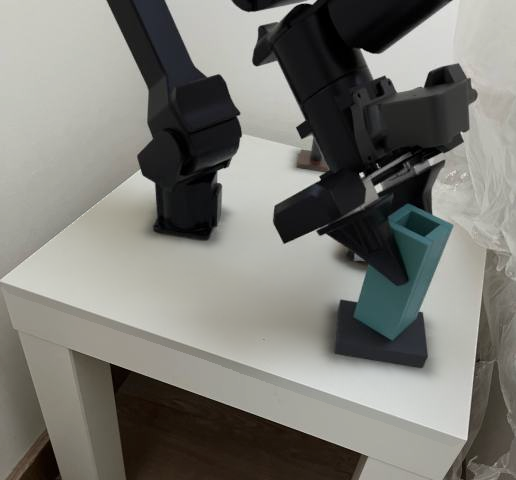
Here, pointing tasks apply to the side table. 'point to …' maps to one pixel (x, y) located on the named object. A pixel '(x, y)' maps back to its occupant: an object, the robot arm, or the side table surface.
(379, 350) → the pad
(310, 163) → the peg stand
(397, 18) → the robot arm
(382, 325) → the sleeve
